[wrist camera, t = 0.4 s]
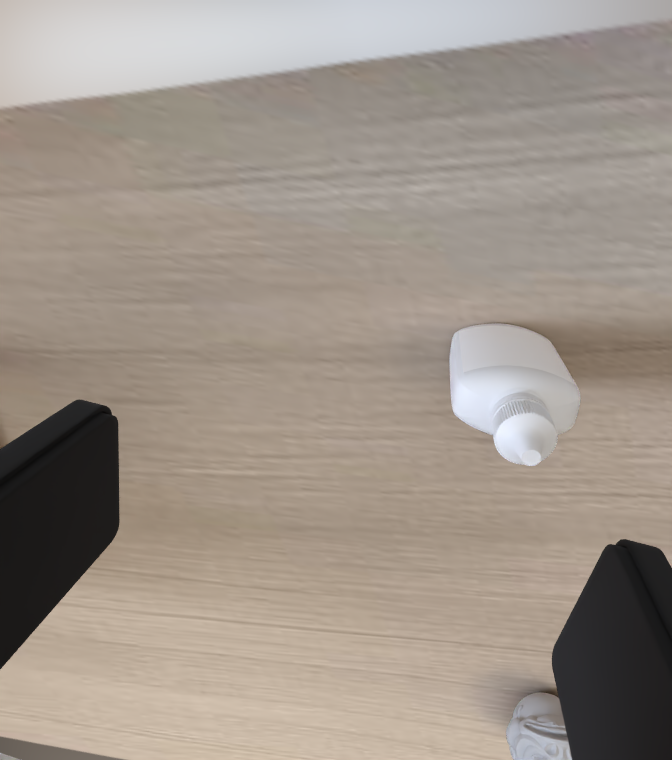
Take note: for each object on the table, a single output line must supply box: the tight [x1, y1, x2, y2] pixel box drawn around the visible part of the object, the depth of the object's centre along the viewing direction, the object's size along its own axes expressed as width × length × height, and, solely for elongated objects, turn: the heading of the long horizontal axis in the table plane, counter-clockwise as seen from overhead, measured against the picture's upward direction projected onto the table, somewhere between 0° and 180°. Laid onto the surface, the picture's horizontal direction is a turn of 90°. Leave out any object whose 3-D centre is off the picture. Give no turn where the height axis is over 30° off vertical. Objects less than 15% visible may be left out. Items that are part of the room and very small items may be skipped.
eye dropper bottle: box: [449, 323, 581, 466], centre depth 25 cm, size 4×6×12 cm
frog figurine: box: [506, 693, 572, 760], centre depth 37 cm, size 6×7×7 cm
